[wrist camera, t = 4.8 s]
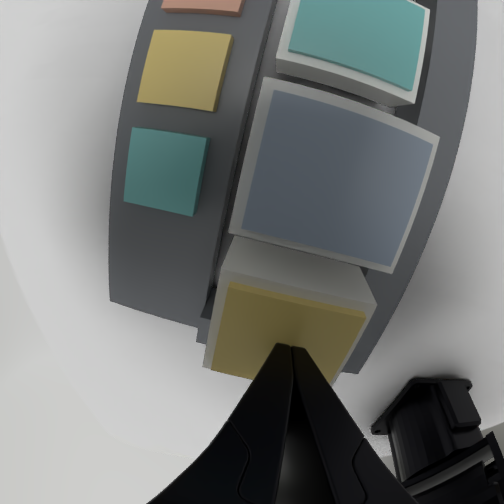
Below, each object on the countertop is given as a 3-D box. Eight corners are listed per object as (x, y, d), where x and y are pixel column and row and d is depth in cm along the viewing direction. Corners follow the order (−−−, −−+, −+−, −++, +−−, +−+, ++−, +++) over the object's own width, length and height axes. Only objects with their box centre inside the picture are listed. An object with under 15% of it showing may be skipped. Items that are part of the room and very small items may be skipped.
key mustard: (320, 327, 13) (329, 398, 9) (221, 305, 13) (200, 373, 9) (351, 251, 11) (380, 311, 7) (239, 222, 11) (218, 273, 7)
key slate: (360, 227, 11) (395, 279, 7) (245, 197, 11) (226, 237, 7) (390, 131, 9) (446, 137, 5) (269, 94, 9) (263, 73, 5)
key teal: (378, 108, 11) (418, 103, 7) (277, 77, 10) (275, 55, 7) (394, 34, 9) (433, 7, 5) (296, 3, 9) (301, -41, 5)
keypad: (350, 342, 15) (357, 374, 13) (122, 286, 15) (100, 311, 13) (452, -35, 6) (473, -50, 4) (207, -96, 6) (196, -120, 4)
